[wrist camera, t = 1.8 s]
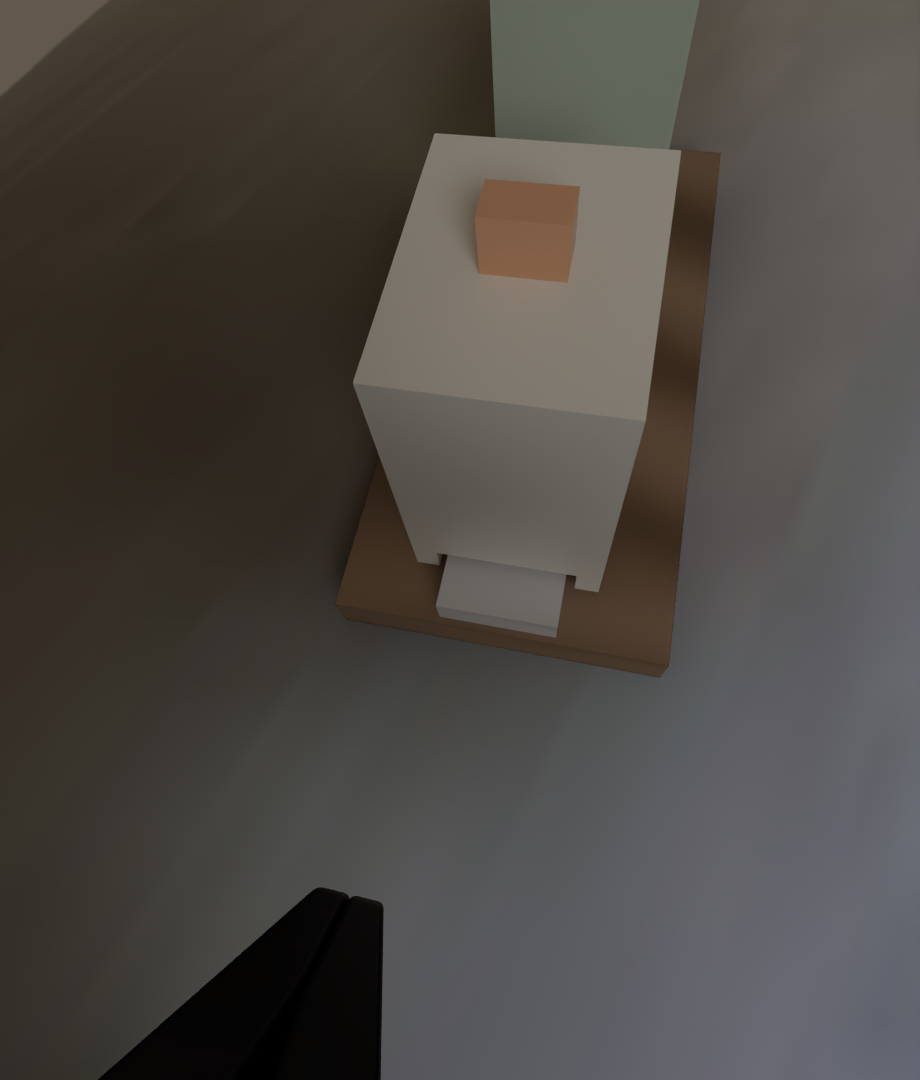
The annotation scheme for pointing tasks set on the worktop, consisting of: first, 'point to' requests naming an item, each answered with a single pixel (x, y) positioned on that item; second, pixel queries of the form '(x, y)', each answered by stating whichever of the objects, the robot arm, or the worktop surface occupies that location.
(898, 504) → the worktop surface
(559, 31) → the block
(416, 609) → the rail board
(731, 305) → the worktop surface
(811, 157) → the worktop surface
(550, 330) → the block
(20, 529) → the worktop surface
